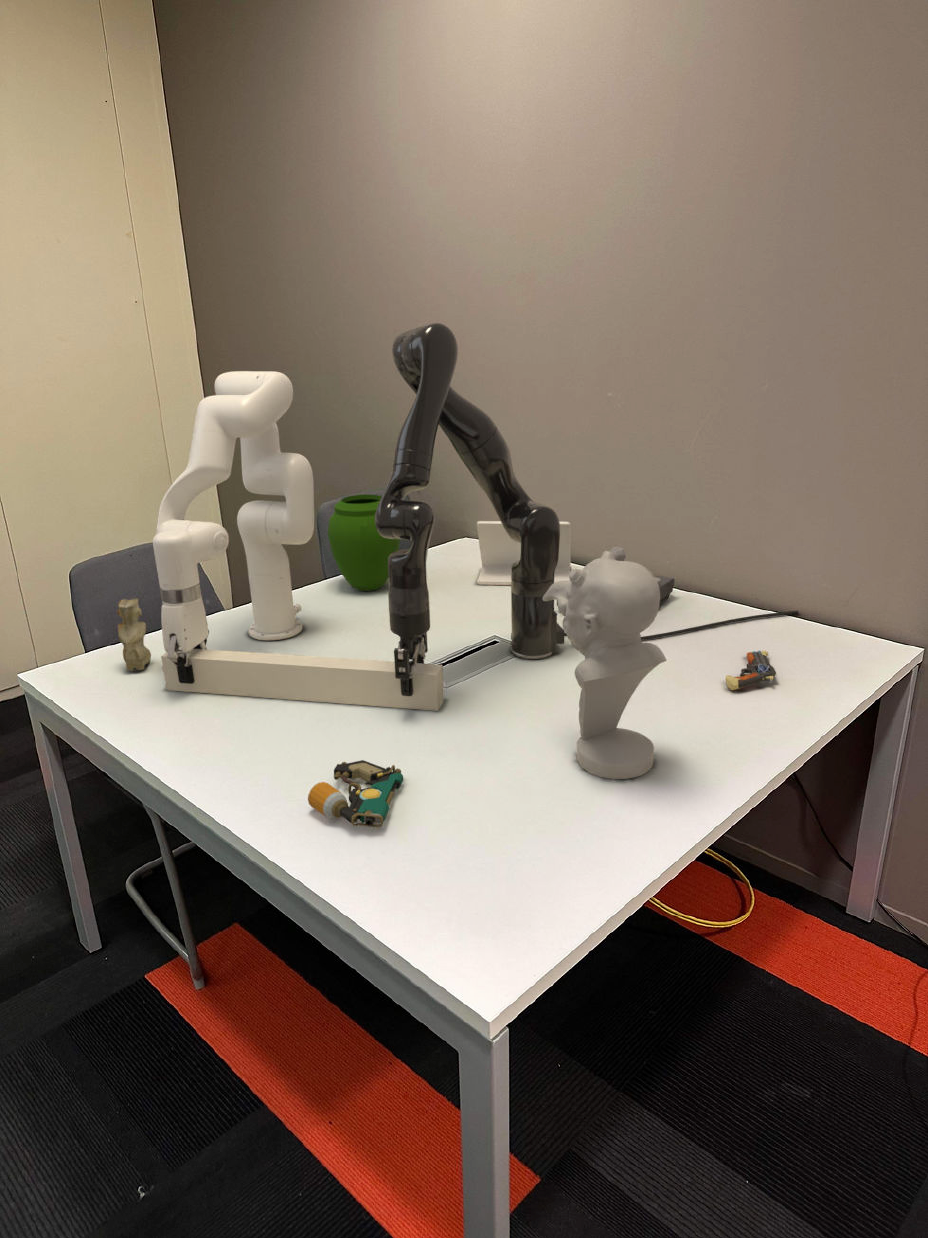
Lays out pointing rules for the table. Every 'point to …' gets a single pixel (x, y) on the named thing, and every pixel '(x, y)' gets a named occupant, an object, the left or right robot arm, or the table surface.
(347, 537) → the vase
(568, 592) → the bust sculpture
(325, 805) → the spray gun
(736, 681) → the toy gun
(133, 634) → the sculpture
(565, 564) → the tablet stand
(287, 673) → the bar
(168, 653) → the left robot arm
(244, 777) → the table surface
